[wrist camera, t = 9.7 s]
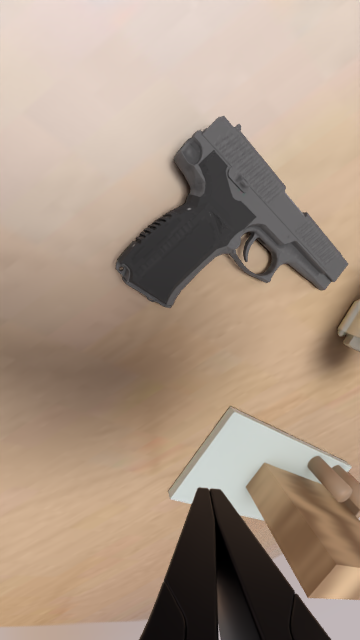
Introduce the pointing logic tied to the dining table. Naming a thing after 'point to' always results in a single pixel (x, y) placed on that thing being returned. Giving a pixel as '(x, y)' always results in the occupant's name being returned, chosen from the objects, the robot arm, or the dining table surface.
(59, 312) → the dining table surface
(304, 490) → the brown wooden block
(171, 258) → the handgun
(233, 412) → the panel
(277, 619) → the robot arm
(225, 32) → the dining table surface
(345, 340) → the pneumatic valve
